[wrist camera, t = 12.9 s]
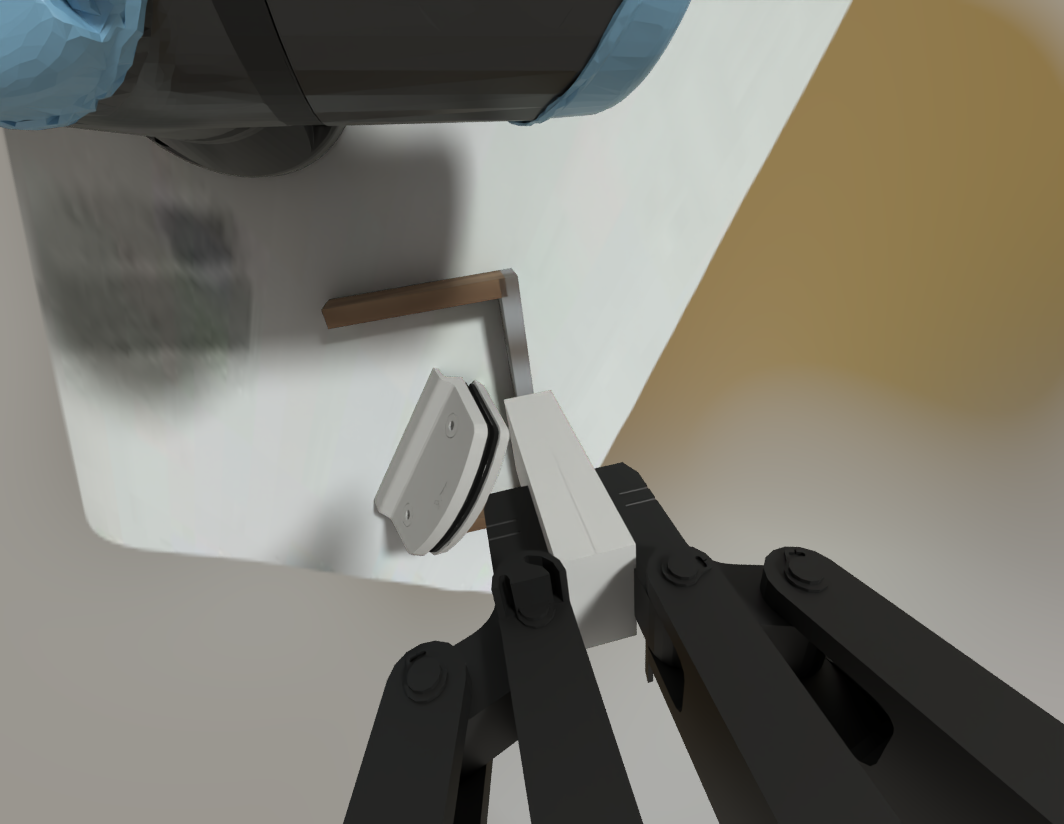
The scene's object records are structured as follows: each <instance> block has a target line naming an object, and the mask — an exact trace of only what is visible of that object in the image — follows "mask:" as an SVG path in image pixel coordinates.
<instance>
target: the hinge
mask: <svg viewBox="0 0 1064 824" xmlns="http://www.w3.org/2000/svg"><path fill="white" fill-rule="evenodd" d="M509 435H510V434H509V430H508V428H507V426H506V424H505V422H504V420H503V419H502V417H501V415H500V413H499V411H498V410H497V408H496V406H495V404H494V402H493V401H492V399H491V397H490V395H489V393H488V392H487V390H486V388H485V386H484V385H483V384H481V383H479V382H477V381H475V380H474V382H473V384H470V385H469V387H468V385H467V383H466V382H465V381H464V379H463V377H446V376H443V374H442V373H441V371H440V370H439V369H437V368H433V369H432V372H431V374H430V376H429V378H428V381H427V383H426V385H425V387H424V389H423V392H422V394H421V396H420V398H419V401H418V403H417V405H416V407H415V410H414V412H413V414H412V416H411V418H410V421H409V423H408V425H407V427H406V430H405V432H404V434H403V436H402V439H401V441H400V443H399V445H398V447H397V450H396V452H395V454H394V456H393V459H392V461H391V463H390V465H389V468H388V470H387V472H386V474H385V476H384V479H383V481H382V483H381V485H380V488H379V490H378V492H377V494H376V497H375V499H374V501H375V504H376V507H377V510H378V511H379V512H380V513H381V514H383V515H385V516H387V517H389V518H390V519H391V520H392V522H393V524H394V526H395V528H396V530H397V532H398V534H399V536H400V538H401V540H402V542H403V544H404V546H405V548H406V550H407V552H408V553H409V554H413V555H419V556H424V555H425V554H427V553H428V552H431V553H432V554H433V555H437V554H441V553H444V552H447V551H448V550H450V549H451V548H452V547H453V546H454V545H456V544H457V543H458V542H459V541H460V540H461V539H462V537H463V536H464V535H465V534H466V533H467V531H468V530H469V529H470V528H471V526H472V525H473V523H474V522H475V520H476V519H477V517H478V516H479V514H480V512H481V511H482V509H483V507H484V505H485V503H486V502H487V499H488V496H489V494H490V493H491V491H492V489H493V487H494V484H495V482H496V480H497V477H498V474H499V472H500V469H501V466H502V463H503V460H504V456H505V453H506V449H507V446H508V442H509Z"/></svg>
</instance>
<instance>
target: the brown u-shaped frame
mask: <svg viewBox="0 0 1064 824" xmlns="http://www.w3.org/2000/svg"><path fill="white" fill-rule="evenodd" d="M493 299H499V305H500V312H501V318H502V324H503V330H504V336H505V342H506V348H507V355H508V361H509V367H510V373H511V379H512V385H513V391H514V397H519V396H524V395H529V394H534V392H533V385H532V378H531V370H530V363H529V356H528V348H527V341H526V334H525V327H524V319H523V312H522V305H521V298H520V290H519V283H518V276H517V274H516V273H515V272H514V271H513V270H512V268H510V269H504V270H498V271H492V272H487V273H481V274H475V275H469V276H463V277H458V278H452V279H446V280H440V281H434V282H429V283H423V284H417V285H411V286H405V287H400V288H394V289H388V290H382V291H376V292H371V293H365V294H359V295H353V296H347V297H341V298H336V299H330V300H328V302H327V303H326V304H325V306H324V307H323V308H322V313H323V316H324V318H325V321H326V324H327V326H328V329H331V328H337V327H342V326H348V325H353V324H359V323H365V322H370V321H376V320H381V319H387V318H392V317H398V316H404V315H409V314H415V313H420V312H426V311H431V310H437V309H443V308H448V307H454V306H459V305H465V304H470V303H476V302H482V301H487V300H493ZM485 504H486V503H485ZM484 507H485V505H484ZM484 507H483V509H484ZM483 509H482V511H481V512H480V514H479V516H478V517H477V519H476V520H475V522H474V523H473V525H472V526H471V528H470V529H469V530H468V531H467V533H468V532H472V531H476V530H480V529H485V528H486V522H485V516H484V510H483Z"/></svg>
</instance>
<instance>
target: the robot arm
mask: <svg viewBox="0 0 1064 824" xmlns="http://www.w3.org/2000/svg"><path fill="white" fill-rule="evenodd" d="M690 2H691V0H0V127H3V128H7V129H18V130H43V129H50V128H57V127H71V128H80V129H89V130H98V131H107V132H115V133H124V134H133V135H142V136H146V137H148V138H149V139H150V140H152V141H153V142H155V143H156V144H157V145H159V146H161V147H162V148H164V149H165V150H167V151H169V152H170V153H172V154H174V155H176V156H178V157H180V158H182V159H184V160H186V161H188V162H190V163H192V164H195V165H197V166H200V167H203V168H205V169H208V170H211V171H215V172H218V173H222V174H227V175H233V176H240V177H268V176H278V175H283V174H287V173H291V172H294V171H297V170H299V169H302V168H304V167H306V166H308V165H309V164H311V163H313V162H314V161H316V160H317V159H318V158H320V157H321V156H322V155H323V154H324V153H326V152H327V151H328V150H329V148H330V147H331V146H332V145H333V144H334V143H335V141H336V140H337V139H338V137H339V136H340V134H341V132H342V131H343V129H344V127H345V126H347V125H384V124H420V123H457V122H493V121H508V122H509V123H511V124H514V125H518V126H532V125H533V124H534V123H542V122H544V121H546V120H548V119H550V118H560V117H572V116H584V115H593V114H597V113H599V112H602V111H604V110H606V109H608V108H611V107H613V106H615V105H616V104H617V103H619V102H621V101H622V100H623V99H625V98H626V97H627V96H628V95H629V94H630V93H631V92H632V91H633V90H634V89H635V88H636V87H638V86H639V84H640V83H641V82H642V81H643V80H644V79H645V78H646V76H647V75H648V74H649V73H650V71H651V70H652V69H653V67H654V66H655V64H656V63H657V61H658V60H659V59H660V57H661V55H662V54H663V52H664V51H665V49H666V48H667V46H668V44H669V42H670V41H671V39H672V37H673V35H674V34H675V32H676V30H677V28H678V26H679V24H680V22H681V20H682V18H683V16H684V14H685V12H686V10H687V8H688V6H689V4H690ZM504 404H505V409H506V415H507V421H508V426H509V432H510V438H511V443H512V449H513V455H514V460H515V466H516V471H517V474H518V478H519V481H520V485H521V487H518V488H514V489H509V490H505V491H500V492H496V493H492V494H489V496H488V499H487V502H486V504H485V507H484V509H483V510H484V516H485V522H486V529H487V535H488V540H489V547H490V554H491V560H492V566H493V573H494V575H493V577H492V588H491V590H492V594H493V597H494V601H495V608H494V610H493V612H492V614H491V616H490V618H489V619H488V621H487V622H486V623H485V624H484V625H483V626H482V627H481V628H480V629H479V630H477V631H476V632H475V633H473V634H472V635H470V636H469V637H467V638H466V639H464V640H462V641H461V642H459V643H457V644H456V645H455V646H452V645H451V644H449V643H446V642H440V641H432V642H427V643H423V644H420V645H418V646H416V647H415V648H413V649H411V650H410V651H408V652H406V654H405V655H404V656H403V657H402V658H401V659H400V660H399V661H398V662H397V663H396V664H395V666H394V668H393V670H392V672H391V674H390V676H389V678H388V680H387V683H386V686H385V689H384V692H383V696H382V699H381V702H380V705H379V709H378V712H377V715H376V719H375V722H374V725H373V728H372V731H371V735H370V738H369V741H368V744H367V748H366V751H365V754H364V757H363V761H362V764H361V767H360V770H359V774H358V777H357V780H356V783H355V787H354V790H353V793H352V797H351V800H350V803H349V807H348V810H347V813H346V816H345V819H344V822H343V824H487V816H488V805H489V795H490V783H491V773H492V763H493V758H495V757H496V756H497V755H499V754H500V753H501V752H503V751H504V750H505V749H506V748H508V747H509V746H511V745H512V744H513V743H514V742H516V741H517V740H518V742H519V748H520V754H521V761H522V767H523V774H524V780H525V786H526V792H527V799H528V805H529V811H530V817H531V824H643V822H642V819H641V816H640V813H639V810H638V806H637V804H636V801H635V797H634V794H633V792H632V788H631V785H630V783H629V779H628V776H627V773H626V770H625V767H624V764H623V761H622V758H621V755H620V752H619V749H618V746H617V743H616V740H615V736H614V734H613V730H612V728H611V724H610V721H609V718H608V715H607V712H606V709H605V706H604V703H603V700H602V697H601V694H600V691H599V688H598V685H597V682H596V679H595V676H594V673H593V669H592V666H591V663H590V661H589V657H588V654H587V651H586V649H587V648H590V647H594V646H598V645H602V644H605V643H609V642H612V641H616V640H620V639H623V638H627V637H630V636H634V635H636V634H637V631H636V630H637V629H636V625H637V623H636V620H637V622H638V624H639V626H640V629H641V631H642V633H643V635H644V637H645V639H646V655H645V656H646V657H645V658H646V659H645V672H646V676H647V681H648V683H649V682H652V681H653V674H654V676H655V678H656V680H657V683H658V685H659V687H660V689H661V692H662V694H663V696H664V699H665V701H666V703H667V705H668V708H669V710H670V712H671V714H672V717H673V719H674V721H675V723H676V726H677V728H678V730H679V733H680V735H681V737H682V739H683V742H684V744H685V746H686V749H687V751H688V753H689V755H690V758H691V760H692V762H693V764H694V767H695V769H696V771H697V773H698V776H699V778H700V780H701V782H702V785H703V787H704V789H705V792H706V794H707V796H708V799H709V801H710V803H711V805H712V808H713V810H714V812H715V814H716V817H717V819H718V821H719V824H1064V724H1063V723H1061V722H1060V721H1059V720H1057V719H1055V718H1054V717H1053V716H1052V715H1050V714H1049V713H1047V712H1046V711H1044V710H1043V709H1042V708H1040V707H1039V706H1037V705H1036V704H1034V703H1033V702H1032V701H1030V700H1029V699H1027V698H1026V697H1025V696H1023V695H1022V694H1020V693H1019V692H1017V691H1016V690H1015V689H1013V688H1012V687H1010V686H1009V685H1007V684H1006V683H1005V682H1003V681H1002V680H1000V679H999V678H998V677H996V676H995V675H993V674H992V673H990V672H989V671H987V670H986V669H985V668H983V667H982V666H980V665H979V664H978V663H976V662H975V661H973V660H972V659H971V658H969V657H968V656H966V655H965V654H964V653H962V652H961V651H959V650H958V649H956V648H955V647H954V646H952V645H951V644H949V643H948V642H946V641H945V640H944V639H942V638H941V637H939V636H938V635H937V634H935V633H934V632H932V631H931V630H929V629H928V628H927V627H925V626H924V625H922V624H921V623H919V622H918V621H917V620H915V619H914V618H912V617H911V616H910V615H908V614H907V613H905V612H904V611H903V610H901V609H899V608H898V607H897V606H895V605H894V604H893V603H891V602H890V601H888V600H887V599H885V598H884V597H883V596H881V595H880V594H878V593H877V592H875V591H874V590H873V589H871V588H870V587H869V586H867V585H865V584H864V583H863V582H861V581H860V580H859V579H857V578H856V577H854V576H853V575H851V574H850V573H848V572H847V571H846V570H844V569H843V568H842V567H840V566H838V565H837V564H836V563H834V562H833V561H832V560H830V559H828V558H826V557H824V556H823V555H821V554H819V553H817V552H815V551H812V550H808V549H805V548H801V547H783V548H779V549H776V550H773V551H772V552H771V553H770V554H769V555H768V556H767V557H766V558H765V563H764V565H737V564H725V563H719V562H716V561H713V560H712V559H711V558H710V557H709V556H708V555H707V554H706V553H704V552H702V551H700V550H698V549H696V548H694V547H690V546H689V545H688V544H687V543H686V542H685V540H684V539H683V537H682V536H681V535H680V533H679V531H678V530H677V529H676V527H675V526H674V524H673V523H672V521H671V520H670V518H669V517H668V515H667V514H666V512H665V511H664V510H663V508H662V507H661V505H660V504H659V502H658V501H657V500H656V499H655V496H654V495H653V494H652V492H651V491H650V489H648V488H647V485H646V483H645V482H644V480H643V479H642V477H641V476H640V475H639V473H638V472H637V471H635V470H633V469H632V468H631V467H629V466H627V465H626V464H624V463H623V462H621V463H617V464H613V465H609V466H604V467H600V468H595V469H594V467H593V465H592V463H591V462H590V460H589V458H588V456H587V454H586V452H585V451H584V449H583V447H582V445H581V443H580V442H579V440H578V438H577V436H576V434H575V432H574V431H573V429H572V427H571V425H570V423H569V421H568V420H567V418H566V416H565V414H564V412H563V410H562V409H561V407H560V405H559V403H558V401H557V400H556V398H555V396H554V394H553V392H552V390H548V391H543V392H538V393H534V394H529V395H524V396H519V397H514V398H509V399H504Z"/></svg>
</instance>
